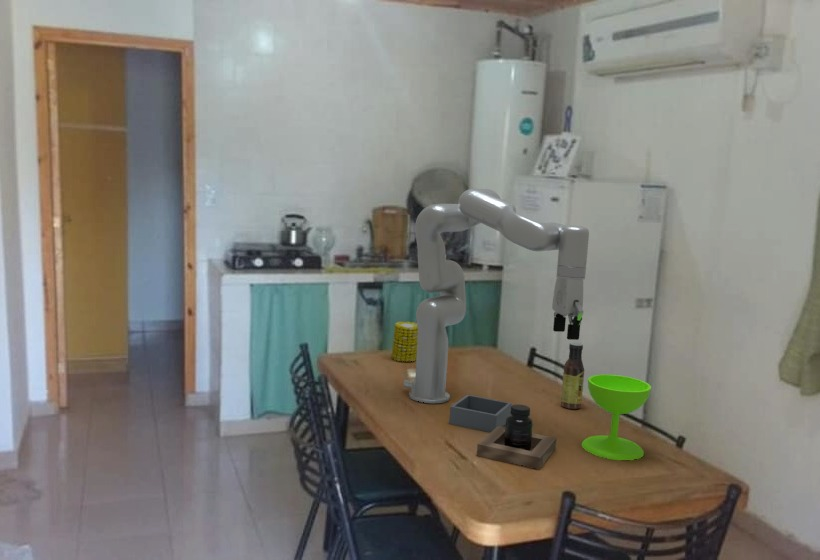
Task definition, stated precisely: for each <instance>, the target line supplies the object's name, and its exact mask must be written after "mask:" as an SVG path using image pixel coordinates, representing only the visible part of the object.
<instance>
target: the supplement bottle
mask: <svg viewBox="0 0 820 560" xmlns="http://www.w3.org/2000/svg"><path fill="white" fill-rule="evenodd" d="M510 414H511V415H510V416H508V417H507V419H506V424H505V440H504V443H503V445H505V446H509V447H514V448H519V449H523V450H528V451H532V450H531V449H532V448H531V441H532V433H533V429H534V427H533V425H534V422H533V419H532V418H531V408H530V406H528V405H525V404H513V405H512V406H511V411H510Z"/></svg>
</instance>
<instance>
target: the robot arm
mask: <svg viewBox="0 0 820 560" xmlns="http://www.w3.org/2000/svg"><path fill="white" fill-rule="evenodd" d="M480 224H481V225H485V226H487V227H489V228H491V229H493V230H495V231H497V232H499V234H501V235H502V236H503V237H504V238H505V239H506V240H508V241H510V242H512V243H514V244H515V245H518V246H520V247H522V248H524V249H526V250H529V251H533V252H546V251H548V252H549V251H558V252H557V253H558V254H557V267H556V280H555V284H554V290H553V298H552V308H551V309H552V310H553V312H554V313H553V328H552V329H553V330H552V331H553V332H557V333H558V332H560V333H561V332H562V333H563V332H565V331H566V321H567V320H566V319H567V318H568V322H569V324H567V333H566V334H567V335H566V340H568V341H569V340H573V341H575V340H577V341H578V340H579V339H580V330H581V325H582V320H583V315H584V309H583V306H584V280H586V272H587V262H588V260H587V259H588V250H589V239H590V238H589V237H590V231H589V229H588V228H587V227H586V226H581V225H566V224H561V223H556V222H536V221H533V220H531V219H528V218H526V217H524V216H521V215H520V214H519V213H517V210H516V207H515V205H514V204H513V203H511V202H508V201H506V200H504V199H501V197H500V195H499V194H498V193H497V192H496V191H495V190H493V189H489V188H470V189H467V190H465V191H464V192H462V194H460V195H459V198H458V203H435V204H430V205H428V206H427V207H425V208H423V209H422V210H421V211H420V213H419V214H418V215H417V217H416V220H415V224H414V232H415V239H416V240H415V241H416V247H417V265H418V268H417V269H418V279H419V280H418V281H419V285H420V288H421V289H422V290H423V291H424V292H427V293H439V295H438V296H432V297H428V298H426V299H425V298H424V299H423V300H422V301H421V302H420V303H419V305H418V306H417V308H416V312H415V314H416V315H415V318H416V324H417V327H418V343H417V359H416V360H415V362H416V364H415V378H414V380H413V381H412V380H410V379H404V381H403V387H404V388H406V389H410V391H409V393H408V394H409V395H408V397H409V398H410V399H411V400H413V401H416V402H418V401H419V403H423V402H424V403H425V404H443V403H446V402H448V401H450V398H451V395H450V393H448V392H447V391H446V385H447V384H446V383H447V370H448V360H449V359H448V358H449V357H448V356H449V355H448V354H449V336H448V333H447V329H446V327H449V326H454V325H457V324H459V323H461V322H462V321H463V320H464V318H465V317H466V313H467V312H466V311H467V299H466V298H467V296H466V284H465V283H466V282H465V273H464V270H463V268H462V267H461V265H460V264H459V263H457V262H456V261H454V260H450V259H447V256H446V245H445V241H444V239H443V237H442V236H441V234H442V233H456V232H464V231H467V230H470V229H471V228H473V227H476V226H478V225H480ZM566 317H567V318H566ZM424 403H423V404H424Z"/></svg>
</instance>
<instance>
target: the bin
mask: <svg viewBox="0 0 820 560" xmlns="http://www.w3.org/2000/svg"><path fill="white" fill-rule="evenodd" d="M512 404H513V403H512V402H508V401H503V400H497V399H492V398H489V397H488V398H487V397H482V396H478V395H471V394H466V395H464V396H463V397H461V398H460V399H459V400H457V401H456V402H455V403H453V404H452V405H450V406H449V408H450V409H449V420H448V421H449V423H448V424H450V425H455V426H459V427H464V428H469V429H472V430H473V429H474V430H476V431H482V432H486V433H487V432H488V433H491V432H492V431H493V430H494V429H495V428H496V427H497V426H500V427H504V426H506V419H507V417H508V416H510V415H511V414H510V411H511V406H512Z"/></svg>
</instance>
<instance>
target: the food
mask: <svg viewBox="0 0 820 560" xmlns="http://www.w3.org/2000/svg"><path fill="white" fill-rule="evenodd" d="M392 338H393V340H392V347H391V349H392V350H391V359H392V360H394V361H395V360H396V361H397V362H398V361H400V362H402V363H404V362H411V361H412V362H413V361H414V362H416V360H417V343H418V327H417V323H416V322H414V321H411V322H410V321H397V322H395V323H394V329H393V336H392ZM403 361H404V362H403Z"/></svg>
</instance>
